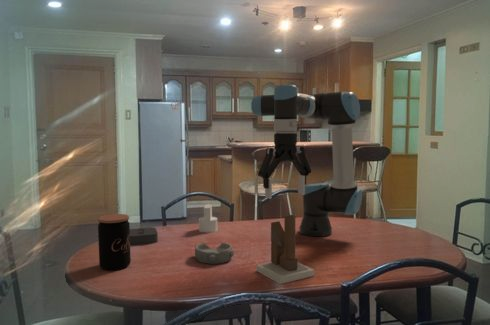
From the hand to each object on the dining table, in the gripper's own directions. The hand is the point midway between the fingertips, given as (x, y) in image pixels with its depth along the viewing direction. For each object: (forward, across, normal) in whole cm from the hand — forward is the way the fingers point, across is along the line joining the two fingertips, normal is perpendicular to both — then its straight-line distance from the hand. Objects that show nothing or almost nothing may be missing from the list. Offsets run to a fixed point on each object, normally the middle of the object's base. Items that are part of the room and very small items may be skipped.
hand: (285, 196), depth 136 cm
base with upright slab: (+27, +2, +65) cm, 70 cm away
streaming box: (+27, -31, +64) cm, 76 cm away
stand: (+26, 0, 0) cm, 27 cm away
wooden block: (+24, 0, 0) cm, 24 cm away
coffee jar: (+27, -48, +37) cm, 66 cm away
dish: (+27, -14, +26) cm, 40 cm away
